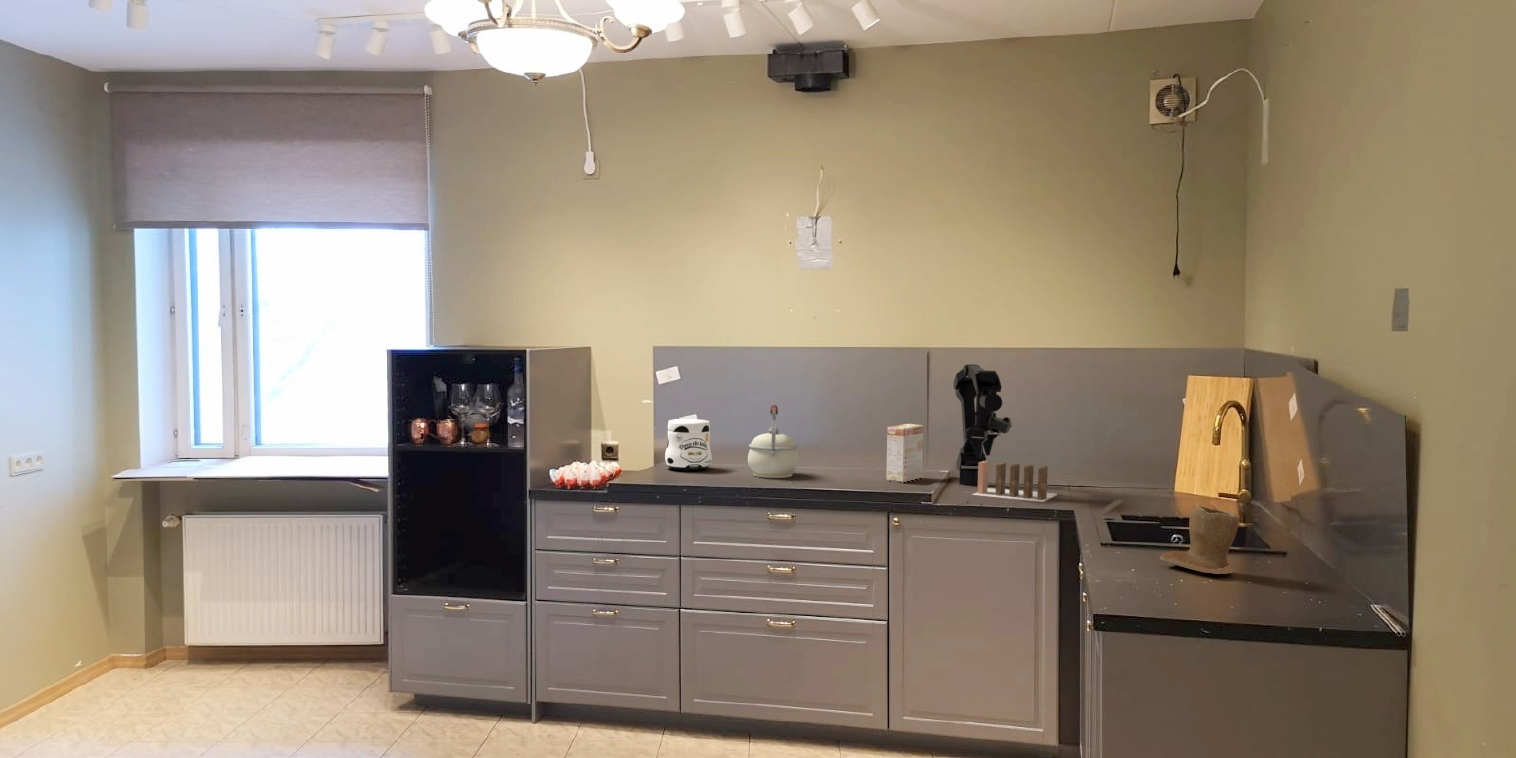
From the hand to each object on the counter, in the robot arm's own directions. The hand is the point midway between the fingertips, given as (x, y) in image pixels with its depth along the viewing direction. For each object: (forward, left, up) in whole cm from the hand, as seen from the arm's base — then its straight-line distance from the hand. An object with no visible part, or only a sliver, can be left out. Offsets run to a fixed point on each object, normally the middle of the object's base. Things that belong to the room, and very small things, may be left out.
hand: (983, 456), depth 347 cm
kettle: (-78, 0, -13) cm, 79 cm away
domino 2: (+6, 0, -12) cm, 13 cm away
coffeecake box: (-34, +17, -13) cm, 40 cm away
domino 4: (+15, 0, -12) cm, 19 cm away
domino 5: (+19, 0, -12) cm, 23 cm away
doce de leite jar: (-110, -7, -13) cm, 111 cm away
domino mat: (+10, +3, -13) cm, 17 cm away
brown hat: (+76, -72, -13) cm, 105 cm away
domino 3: (+10, 0, -12) cm, 16 cm away
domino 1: (0, 0, -12) cm, 12 cm away
